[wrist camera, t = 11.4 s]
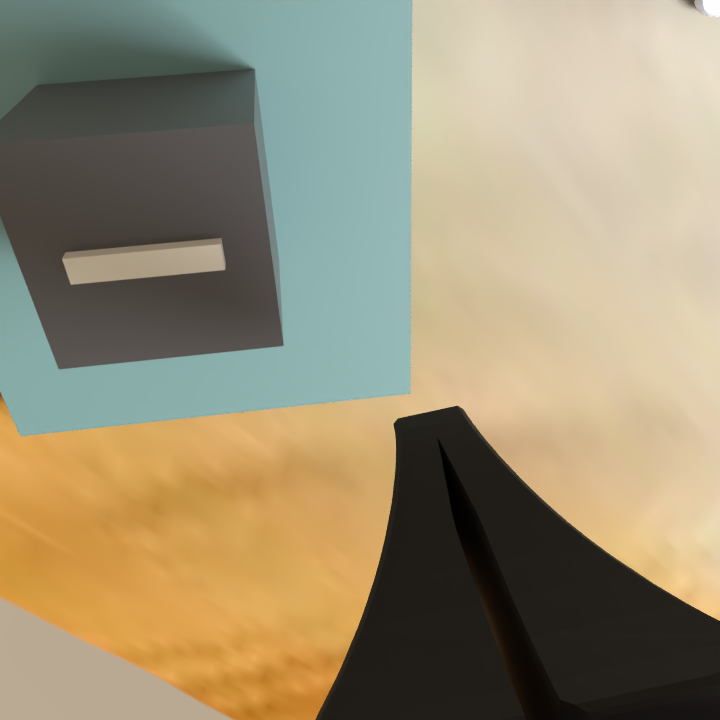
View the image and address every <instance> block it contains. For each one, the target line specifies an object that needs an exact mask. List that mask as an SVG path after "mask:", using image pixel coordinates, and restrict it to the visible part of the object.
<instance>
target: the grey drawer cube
mask: <svg viewBox="0 0 720 720" xmlns="http://www.w3.org/2000/svg"><path fill="white" fill-rule="evenodd" d="M0 217H1V220H2V222H3V225H4V228H5V230H6V233H7V235H8V238H9V241H10V243H11V246H12V249H13V251H14V254H15V256H16V259H17V262H18V264H19V267H20V269H21V272H22V275H23V277H24V280H25V283H26V285H27V288H28V290H29V293H30V296H31V298H32V301H33V304H34V306H35V309H36V311H37V314H38V317H39V319H40V322H41V324H42V327H43V330H44V332H45V335H46V338H47V340H48V343H49V345H50V348H51V351H52V353H53V356H54V359H55V361H56V364H57V366H58V369H69V368H79V367H88V366H98V365H107V364H117V363H126V362H136V361H146V360H155V359H165V358H174V357H184V356H193V355H203V354H213V353H222V352H232V351H241V350H251V349H260V348H270V347H280V346H284V341H283V323H282V305H281V286H280V268H279V255H278V247H277V239H276V231H275V223H274V215H273V207H272V199H271V192H270V184H269V176H268V168H267V160H266V152H265V144H264V136H263V128H262V120H261V112H260V105H259V97H258V89H257V81H256V73H255V69H245V70H232V71H218V72H205V73H191V74H178V75H164V76H151V77H137V78H124V79H110V80H97V81H83V82H70V83H56V84H43V85H37V86H36V87H34V88H33V89H32V90H31V91H30V92H29V93H28V94H27V95H26V96H25V97H24V98H23V99H22V100H21V101H20V102H19V103H18V104H17V105H16V106H15V107H13V108H12V109H11V110H10V111H9V112H8V113H7V114H6V115H5V116H4V117H3V118H2V119H1V120H0Z"/></svg>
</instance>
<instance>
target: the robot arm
mask: <svg viewBox="0 0 720 720" xmlns="http://www.w3.org/2000/svg"><path fill="white" fill-rule="evenodd" d="M694 4H695V6H696V9H697V11H699V12H700V13H701V14H703V15H706V16H712V17H719V16H720V0H695V3H694ZM394 429H395V435H396V470H395V480H394V489H393V498H392V505H391V510H390V515H389V521H388V526H387V531H386V536H385V541H384V545H383V549H382V553H381V557H380V561H379V565H378V568H377V572H376V576H375V579H374V582H373V585H372V588H371V591H370V594H369V598H368V601H367V604H366V607H365V610H364V612H363V615H362V618H361V621H360V623H359V626H358V628H357V631H356V633H355V636H354V638H353V640H352V643H351V645H350V648H349V650H348V652H347V655H346V657H345V660H344V662H343V665H342V667H341V669H340V671H339V673H338V675H337V678H336V680H335V682H334V684H333V686H332V688H331V690H330V692H329V694H328V696H327V698H326V700H325V702H324V704H323V706H322V708H321V709H320V711H319V713H318V715H317V718H316V720H720V621H718V620H717V619H715V618H713V617H711V616H709V615H707V614H705V613H703V612H701V611H700V610H698V609H696V608H694V607H692V606H691V605H689V604H687V603H685V602H683V601H682V600H680V599H678V598H677V597H675V596H673V595H672V594H670V593H668V592H667V591H665V590H663V589H662V588H660V587H658V586H657V585H655V584H653V583H652V582H650V581H649V580H647V579H646V578H644V577H643V576H641V575H640V574H638V573H637V572H635V571H634V570H632V569H631V568H629V567H628V566H626V565H625V564H623V563H622V562H620V561H619V560H617V559H616V558H614V557H613V556H611V555H610V554H608V553H607V552H606V551H604V550H603V549H602V548H600V547H599V546H598V545H596V544H595V543H594V542H592V541H591V540H590V539H588V538H587V537H586V536H585V535H583V534H582V533H581V532H580V531H578V530H577V529H576V528H575V527H573V526H572V525H571V524H570V523H568V522H567V521H566V520H565V519H564V518H562V517H561V516H560V515H559V514H558V513H557V512H556V511H554V510H553V509H552V508H551V507H550V506H549V505H548V504H547V503H546V502H545V501H543V500H542V499H541V498H540V497H539V496H538V495H537V494H536V493H535V492H534V491H533V490H532V489H531V488H530V487H529V486H528V485H527V484H526V483H525V482H524V481H523V480H522V479H521V478H520V477H519V476H518V475H517V474H516V473H515V472H514V471H513V470H512V469H511V468H510V467H509V466H508V465H507V464H506V462H505V461H504V460H503V459H502V458H501V457H500V456H499V455H498V454H497V453H496V451H495V450H494V449H493V448H492V447H491V446H490V444H489V443H488V442H487V441H486V440H485V438H484V437H483V436H482V435H481V433H480V432H479V431H478V430H477V428H476V427H475V426H474V424H473V423H472V421H471V420H470V419H469V417H468V416H467V414H466V413H465V411H464V410H463V409H462V408H460V407H459V406H454V407H450V408H445V409H440V410H436V411H431V412H426V413H422V414H417V415H412V416H408V417H403V418H398V419H397V421H396V422H395V423H394Z"/></svg>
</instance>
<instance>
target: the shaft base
mask: <svg viewBox="0 0 720 720" xmlns="http://www.w3.org/2000/svg"><path fill="white" fill-rule="evenodd" d="M245 69H255V73H256V81H257V89H258V97H259V105H260V112H261V120H262V128H263V136H264V144H265V152H266V160H267V168H268V176H269V184H270V192H271V199H272V207H273V215H274V223H275V231H276V239H277V247H278V255H279V268H280V286H281V305H282V323H283V341H284V346H280V347H270V348H260V349H251V350H241V351H232V352H222V353H213V354H203V355H193V356H184V357H174V358H165V359H155V360H146V361H136V362H126V363H117V364H107V365H98V366H88V367H79V368H69V369H58V366H57V364H56V361H55V359H54V356H53V353H52V351H51V348H50V345H49V343H48V340H47V338H46V335H45V332H44V330H43V327H42V324H41V322H40V319H39V317H38V314H37V311H36V309H35V306H34V304H33V301H32V298H31V296H30V293H29V290H28V288H27V285H26V283H25V280H24V277H23V275H22V272H21V269H20V267H19V264H18V262H17V259H16V256H15V254H14V251H13V249H12V246H11V243H10V241H9V238H8V235H7V233H6V230H5V228H4V225H3V222H2V220H1V217H0V392H1V394H2V397H3V399H4V401H5V403H6V405H7V408H8V410H9V412H10V414H11V416H12V419H13V421H14V423H15V425H16V428H17V430H18V432H19V434H20V436H27V435H37V434H46V433H55V432H64V431H73V430H82V429H91V428H101V427H110V426H119V425H128V424H137V423H146V422H156V421H165V420H174V419H183V418H192V417H201V416H210V415H220V414H229V413H238V412H247V411H256V410H265V409H274V408H284V407H293V406H302V405H311V404H320V403H329V402H338V401H348V400H357V399H366V398H375V397H384V396H393V395H402V394H410V351H411V118H412V0H0V120H1V119H2V118H3V117H4V116H5V115H6V114H7V113H8V112H9V111H10V110H11V109H12V108H13V107H15V106H16V105H17V104H18V103H19V102H20V101H21V100H22V99H23V98H24V97H25V96H26V95H27V94H28V93H29V92H30V91H31V90H32V89H33V88H34V87H36V86H37V85H43V84H56V83H70V82H83V81H97V80H110V79H124V78H137V77H151V76H164V75H178V74H191V73H205V72H218V71H232V70H245Z"/></svg>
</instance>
